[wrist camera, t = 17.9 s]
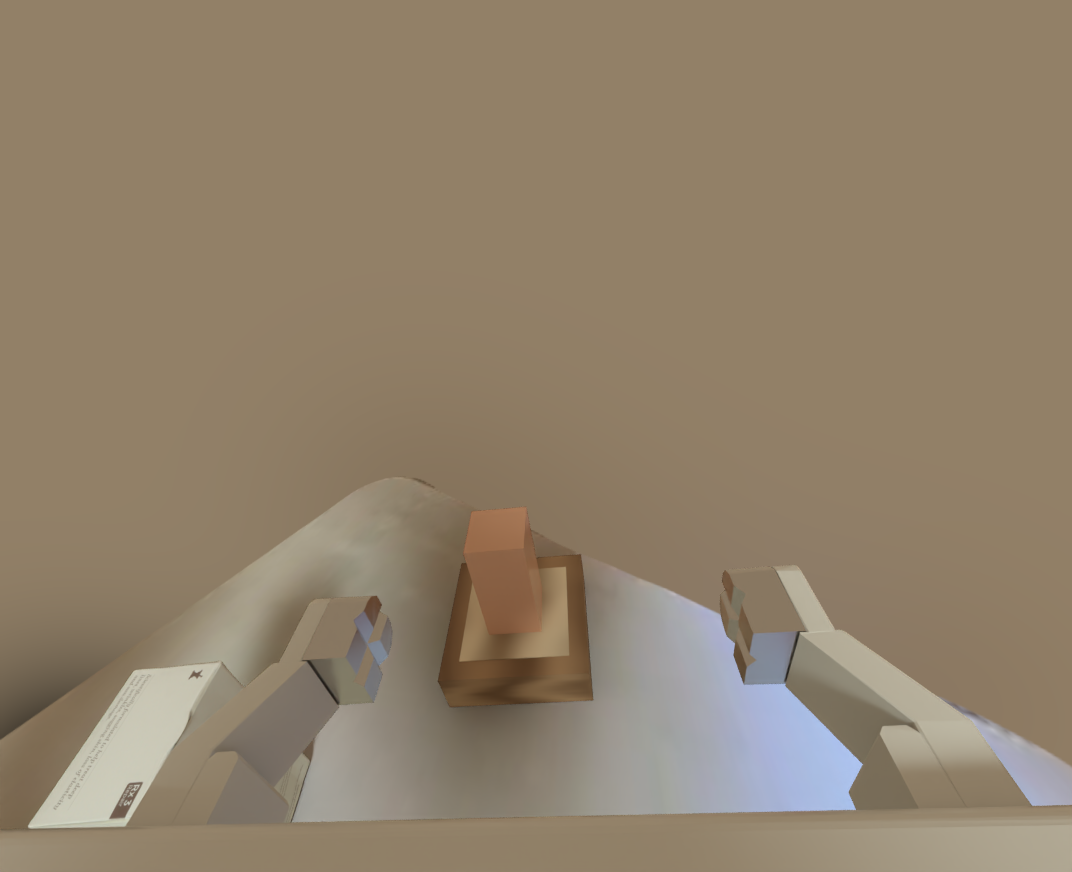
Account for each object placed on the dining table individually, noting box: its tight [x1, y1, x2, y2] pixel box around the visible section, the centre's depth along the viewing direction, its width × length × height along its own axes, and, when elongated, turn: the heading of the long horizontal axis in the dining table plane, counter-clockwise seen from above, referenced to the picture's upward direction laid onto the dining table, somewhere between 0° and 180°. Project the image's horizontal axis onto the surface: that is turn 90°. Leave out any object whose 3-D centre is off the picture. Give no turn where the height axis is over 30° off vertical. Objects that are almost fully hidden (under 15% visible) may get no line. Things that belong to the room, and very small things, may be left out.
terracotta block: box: [463, 507, 542, 635], centre depth 39 cm, size 4×4×10 cm
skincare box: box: [28, 661, 310, 829], centre depth 30 cm, size 8×6×15 cm
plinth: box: [438, 554, 593, 707], centre depth 43 cm, size 12×12×4 cm
